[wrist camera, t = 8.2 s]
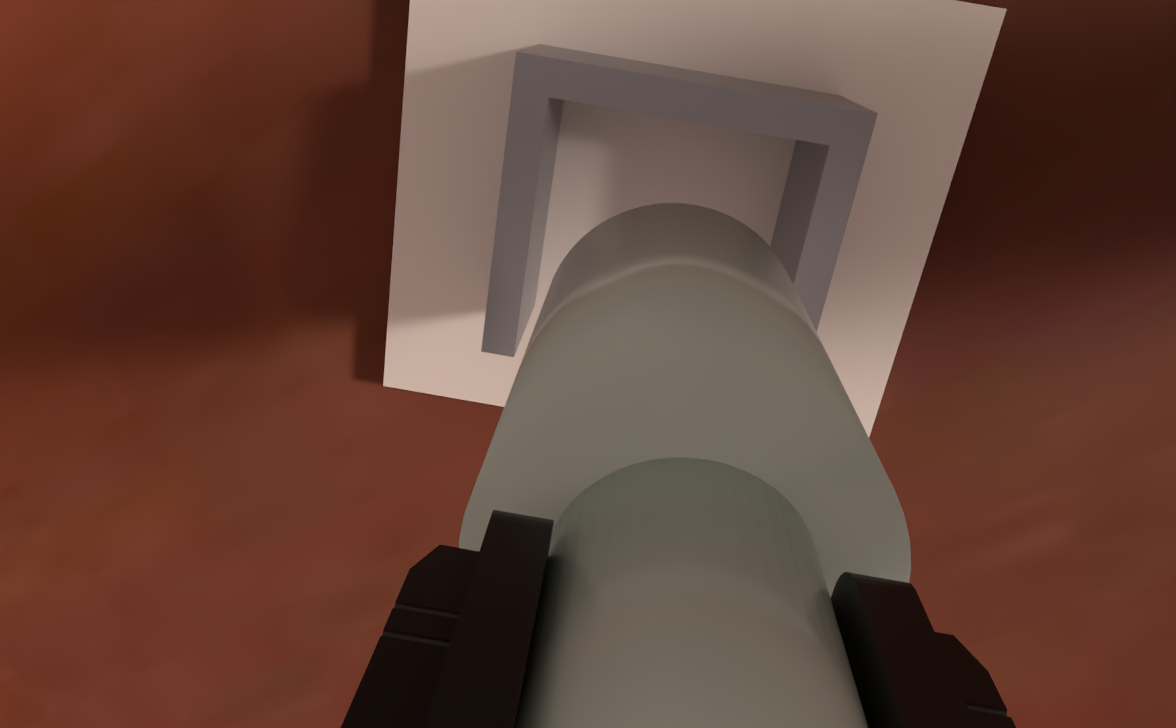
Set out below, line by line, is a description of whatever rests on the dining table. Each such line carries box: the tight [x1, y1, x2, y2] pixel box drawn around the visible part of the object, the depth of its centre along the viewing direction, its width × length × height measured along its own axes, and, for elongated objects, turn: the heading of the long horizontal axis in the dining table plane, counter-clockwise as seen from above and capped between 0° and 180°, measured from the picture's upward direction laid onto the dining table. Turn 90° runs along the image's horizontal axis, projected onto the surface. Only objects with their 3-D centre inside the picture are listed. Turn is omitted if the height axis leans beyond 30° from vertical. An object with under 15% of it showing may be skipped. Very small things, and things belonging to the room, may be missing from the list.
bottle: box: [459, 203, 911, 728], centre depth 12 cm, size 6×6×15 cm
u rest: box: [383, 0, 1007, 437], centre depth 27 cm, size 18×16×6 cm
